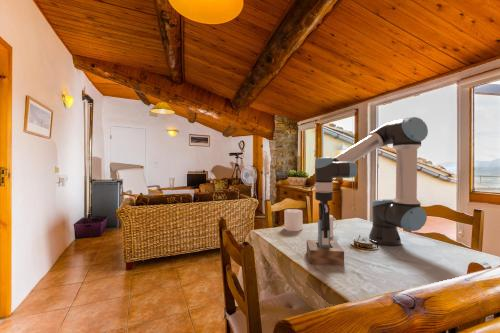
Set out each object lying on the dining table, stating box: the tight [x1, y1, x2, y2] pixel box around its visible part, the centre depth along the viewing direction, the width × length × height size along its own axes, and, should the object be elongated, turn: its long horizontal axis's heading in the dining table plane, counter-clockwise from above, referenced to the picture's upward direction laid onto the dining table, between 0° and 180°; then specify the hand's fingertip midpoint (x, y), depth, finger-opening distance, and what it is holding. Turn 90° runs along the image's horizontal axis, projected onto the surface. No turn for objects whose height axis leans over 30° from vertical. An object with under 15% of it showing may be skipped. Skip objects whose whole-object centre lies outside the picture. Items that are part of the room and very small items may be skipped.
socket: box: [306, 239, 345, 266], centre depth 108 cm, size 14×14×6 cm
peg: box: [317, 219, 331, 248], centre depth 108 cm, size 4×4×16 cm
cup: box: [283, 208, 304, 232], centre depth 156 cm, size 12×12×12 cm
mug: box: [329, 214, 337, 239], centre depth 141 cm, size 12×8×12 cm
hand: (324, 242), depth 108 cm, fingers open, 5 cm apart
